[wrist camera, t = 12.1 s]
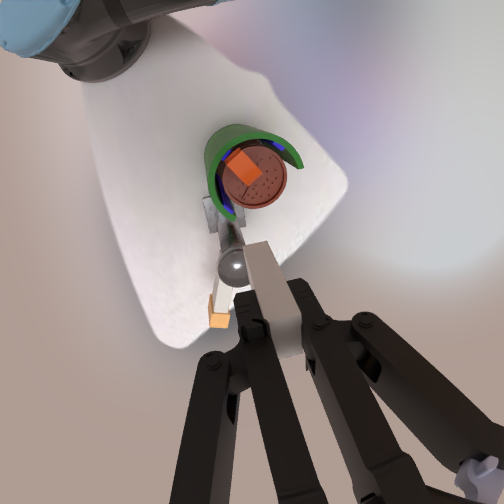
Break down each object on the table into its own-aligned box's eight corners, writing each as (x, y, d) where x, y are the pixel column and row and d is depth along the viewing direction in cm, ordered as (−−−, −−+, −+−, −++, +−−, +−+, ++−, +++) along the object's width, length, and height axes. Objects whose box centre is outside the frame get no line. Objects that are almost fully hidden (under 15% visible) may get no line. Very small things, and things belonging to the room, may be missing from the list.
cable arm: (235, 250, 39) (240, 267, 35) (224, 308, 44) (227, 328, 40) (217, 248, 39) (219, 265, 35) (208, 307, 43) (209, 327, 39)
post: (202, 197, 44) (204, 251, 28) (240, 190, 44) (263, 239, 29) (209, 231, 47) (216, 298, 31) (245, 224, 47) (269, 287, 31)
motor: (237, 195, 45) (262, 255, 27) (191, 164, 41) (183, 205, 24) (276, 146, 42) (331, 173, 24) (231, 111, 38) (256, 109, 21)
